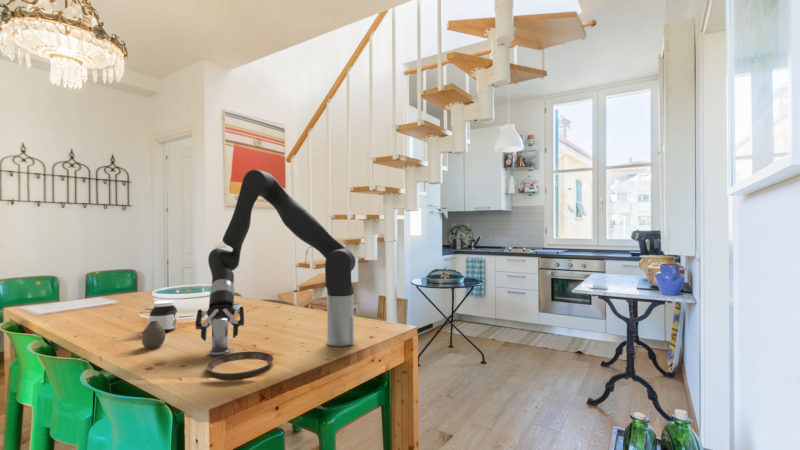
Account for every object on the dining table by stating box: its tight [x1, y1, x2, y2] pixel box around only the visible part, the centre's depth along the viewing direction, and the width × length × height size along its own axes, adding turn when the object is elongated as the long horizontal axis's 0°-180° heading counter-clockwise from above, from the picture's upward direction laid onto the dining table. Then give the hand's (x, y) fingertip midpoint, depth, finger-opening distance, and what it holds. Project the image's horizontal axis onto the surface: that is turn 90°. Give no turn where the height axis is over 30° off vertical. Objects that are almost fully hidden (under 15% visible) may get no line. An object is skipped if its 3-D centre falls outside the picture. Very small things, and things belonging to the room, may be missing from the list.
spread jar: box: [146, 300, 178, 334], centre depth 154 cm, size 12×11×12 cm
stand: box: [204, 348, 235, 360], centre depth 122 cm, size 8×8×1 cm
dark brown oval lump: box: [140, 321, 166, 350], centre depth 132 cm, size 7×7×9 cm
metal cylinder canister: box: [209, 317, 231, 356], centre depth 122 cm, size 6×6×11 cm
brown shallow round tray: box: [206, 350, 274, 381], centre depth 109 cm, size 18×18×3 cm
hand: (219, 337), depth 121 cm, fingers open, 8 cm apart
